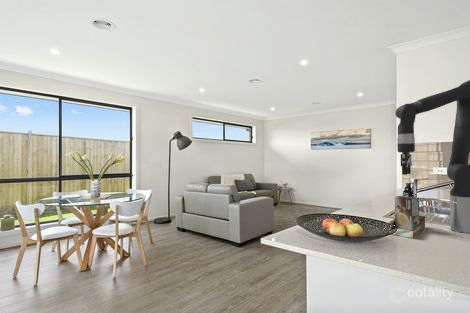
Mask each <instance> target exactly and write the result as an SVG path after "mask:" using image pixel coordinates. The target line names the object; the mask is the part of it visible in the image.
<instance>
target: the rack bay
mask: <svg viewBox="0 0 470 313" xmlns="http://www.w3.org/2000/svg"><path fill="white" fill-rule="evenodd" d="M388 223H389V224H392V225H395V218H393V219H392V220H390V221H389V222H388ZM425 228H426V216H425V215H420V214H419V225H418V227H417V228H416V229H415V230H414V231H411V230H407V229H402V228H396V229H397V232H396V233H395V234H393V235H392V236H396V237H402V238H407V239H413V240H417V239H418V237H419V236H420V234H422V232H423V231H424V229H425Z"/></svg>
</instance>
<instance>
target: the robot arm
mask: <svg viewBox="0 0 470 313" xmlns="http://www.w3.org/2000/svg"><path fill="white" fill-rule="evenodd" d="M453 102H456V112H455V120H454V128H453V138H452V144H451V146H452V147H451V153H450V159H449V162H448V166H447V170H446V173H447V177H448V178H449V180H451V181H453V187H452V189H450V190H449V191H450V192H449V213H450V214H449V216H450V217H449V218H450V219H449V220H450V222H449V227H450V230H452V231H453V232H458V233H465V234H470V164H469V157H470V79H468V80H467V81H464V82H462V83H461V84H460V85H459V86H456V87H453V88H451V89H448V90H445V91H441V92H438V93H435V94H431V95H429V96H426V97H424V98H420V99H418V100H416V101H414V102H411V103H404V104H403V105H400V106H399V107H397V108H396V110H395V112H394V114H395V116H396V118H398V119H399V123H398V125H397V137H396V138H397V140H396V141H397V144H396V145H397V146H396V147H397V152H398V153H401V154H400V166H401V170H402V171H401V174H402V175H403V176H405V175H406V176H407V175H410V174H411V173H412V170H411V169H412V165H413V164H412V163H413V162H412V156H413V155H412V154H411V153H415V151H416V143H415V142H416V140H415V139H416V138H415V122H416V116H417V115H419V114H423V113H425V112H426V113H427V112H431V111H432V110H436V109H439V108H441V107H443V106H446V105H449V104H451V103H453Z"/></svg>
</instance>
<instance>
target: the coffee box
mask: <svg viewBox="0 0 470 313" xmlns="http://www.w3.org/2000/svg"><path fill="white" fill-rule="evenodd" d="M419 215H420V198H419V197H414V196H407V195H397V196H394V219H395V226H396V227H395V226H394V227H395V228H398V229H402V230H407V231H414V230H415V229H416V228H417V227H418V225H419Z"/></svg>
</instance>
